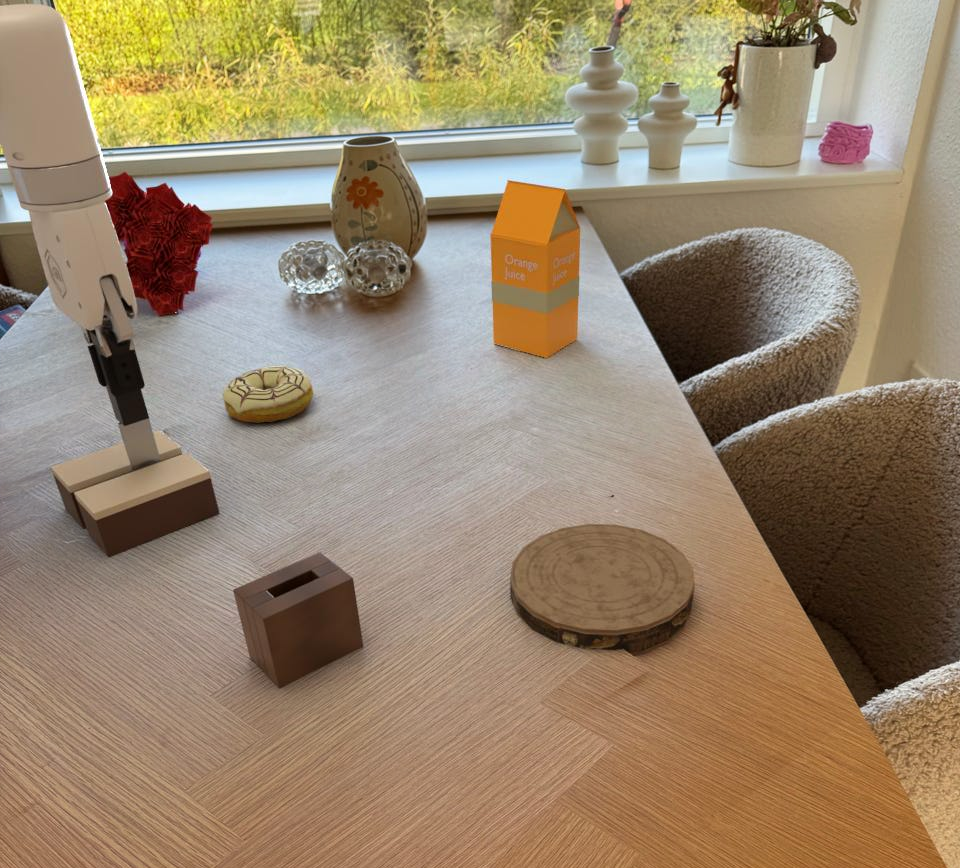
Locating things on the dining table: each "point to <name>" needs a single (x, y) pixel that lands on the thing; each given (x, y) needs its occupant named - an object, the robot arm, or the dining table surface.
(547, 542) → the wood slice coaster
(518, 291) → the orange juice
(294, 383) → the decorated donut
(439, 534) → the dining table surface
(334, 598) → the knife block
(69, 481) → the cake
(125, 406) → the knife
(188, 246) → the bouquet
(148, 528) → the cake slice
